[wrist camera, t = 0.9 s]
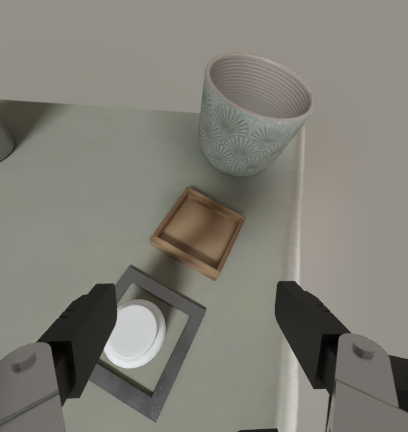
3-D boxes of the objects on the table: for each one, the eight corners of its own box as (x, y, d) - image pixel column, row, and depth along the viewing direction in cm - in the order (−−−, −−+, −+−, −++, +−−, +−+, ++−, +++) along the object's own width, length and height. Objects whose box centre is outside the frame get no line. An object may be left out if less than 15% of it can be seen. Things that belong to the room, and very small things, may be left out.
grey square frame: (61, 361, 23) (59, 361, 23) (129, 267, 30) (129, 266, 29) (155, 421, 22) (155, 422, 22) (205, 311, 29) (206, 310, 28)
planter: (262, 203, 40) (313, 138, 27) (177, 170, 40) (187, 89, 27) (275, 147, 49) (318, 77, 36) (206, 120, 49) (223, 40, 36)
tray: (150, 245, 32) (150, 237, 30) (185, 195, 37) (187, 186, 35) (214, 280, 31) (218, 276, 29) (240, 224, 37) (245, 217, 34)
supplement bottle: (171, 319, 27) (178, 310, 19) (150, 369, 25) (146, 385, 16) (132, 301, 28) (121, 283, 19) (106, 348, 25) (78, 353, 16)
